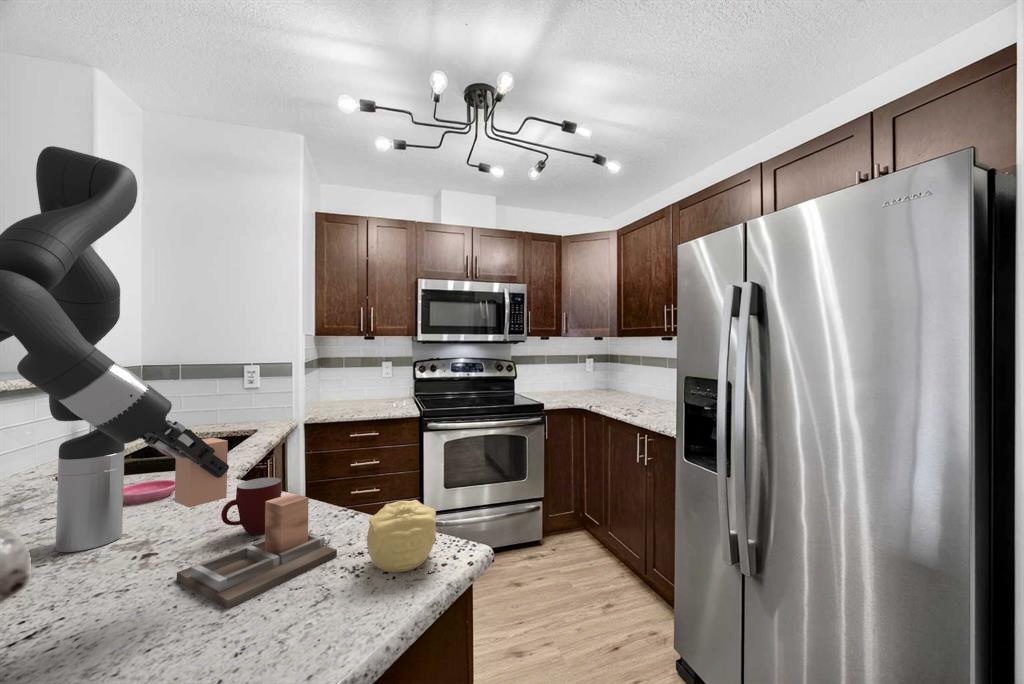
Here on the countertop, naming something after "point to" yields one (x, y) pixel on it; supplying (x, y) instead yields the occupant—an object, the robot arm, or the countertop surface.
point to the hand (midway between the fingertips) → (214, 469)
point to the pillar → (200, 478)
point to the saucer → (147, 491)
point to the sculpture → (401, 535)
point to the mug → (253, 503)
